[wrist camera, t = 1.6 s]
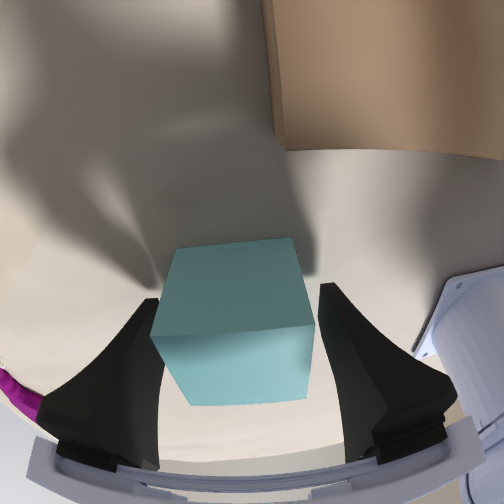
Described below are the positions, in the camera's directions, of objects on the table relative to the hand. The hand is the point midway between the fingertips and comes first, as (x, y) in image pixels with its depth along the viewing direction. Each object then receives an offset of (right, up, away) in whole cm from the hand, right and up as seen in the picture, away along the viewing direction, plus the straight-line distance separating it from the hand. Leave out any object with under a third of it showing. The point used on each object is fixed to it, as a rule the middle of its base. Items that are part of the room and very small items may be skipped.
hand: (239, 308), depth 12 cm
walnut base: (+7, +12, -6) cm, 15 cm away
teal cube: (0, +1, +1) cm, 2 cm away
